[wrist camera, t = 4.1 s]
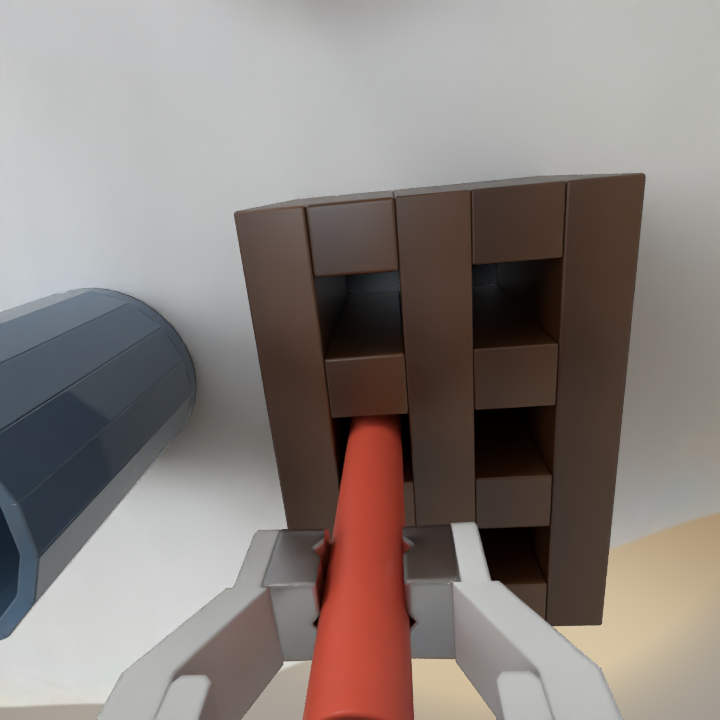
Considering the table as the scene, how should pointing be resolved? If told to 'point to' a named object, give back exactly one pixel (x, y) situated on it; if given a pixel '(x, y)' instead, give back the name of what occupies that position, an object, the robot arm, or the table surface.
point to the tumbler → (78, 426)
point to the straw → (365, 587)
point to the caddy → (459, 361)
